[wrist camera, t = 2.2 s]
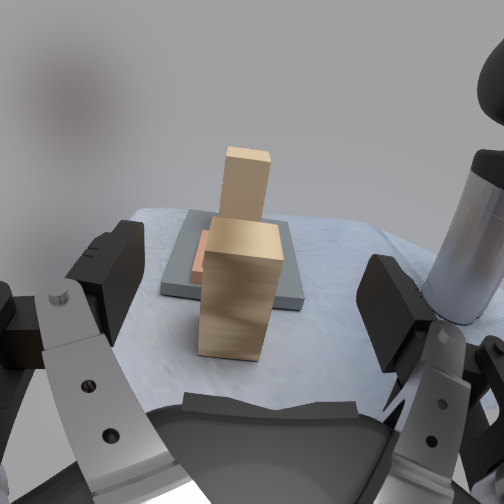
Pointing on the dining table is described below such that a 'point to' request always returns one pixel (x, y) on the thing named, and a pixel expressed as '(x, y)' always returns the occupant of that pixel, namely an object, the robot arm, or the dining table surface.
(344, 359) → the dining table surface
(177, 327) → the dining table surface
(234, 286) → the maple pillar
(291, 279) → the base board
